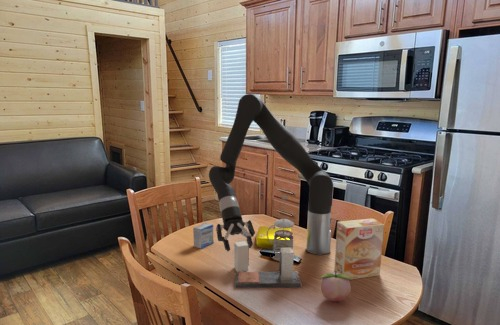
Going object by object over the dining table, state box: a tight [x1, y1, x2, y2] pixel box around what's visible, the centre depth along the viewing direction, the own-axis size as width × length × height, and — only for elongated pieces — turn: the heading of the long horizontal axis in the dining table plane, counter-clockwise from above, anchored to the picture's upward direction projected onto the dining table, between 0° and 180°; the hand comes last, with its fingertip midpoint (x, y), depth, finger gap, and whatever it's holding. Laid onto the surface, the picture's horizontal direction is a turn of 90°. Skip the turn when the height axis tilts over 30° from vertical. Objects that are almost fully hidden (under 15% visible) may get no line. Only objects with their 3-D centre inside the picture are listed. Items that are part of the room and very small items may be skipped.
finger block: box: [233, 240, 250, 272], centre depth 129 cm, size 4×4×10 cm
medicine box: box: [192, 222, 215, 250], centre depth 150 cm, size 8×4×9 cm, turn 143°
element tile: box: [255, 225, 292, 249], centre depth 156 cm, size 15×15×5 cm
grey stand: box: [234, 248, 302, 289], centre depth 120 cm, size 22×8×12 cm, turn 92°
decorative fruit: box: [319, 271, 352, 302], centre depth 109 cm, size 9×8×10 cm
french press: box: [267, 195, 296, 262], centre depth 139 cm, size 10×12×25 cm
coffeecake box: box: [333, 217, 385, 280], centre depth 126 cm, size 15×7×20 cm, turn 105°
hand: (239, 248), depth 130 cm, fingers open, 8 cm apart
